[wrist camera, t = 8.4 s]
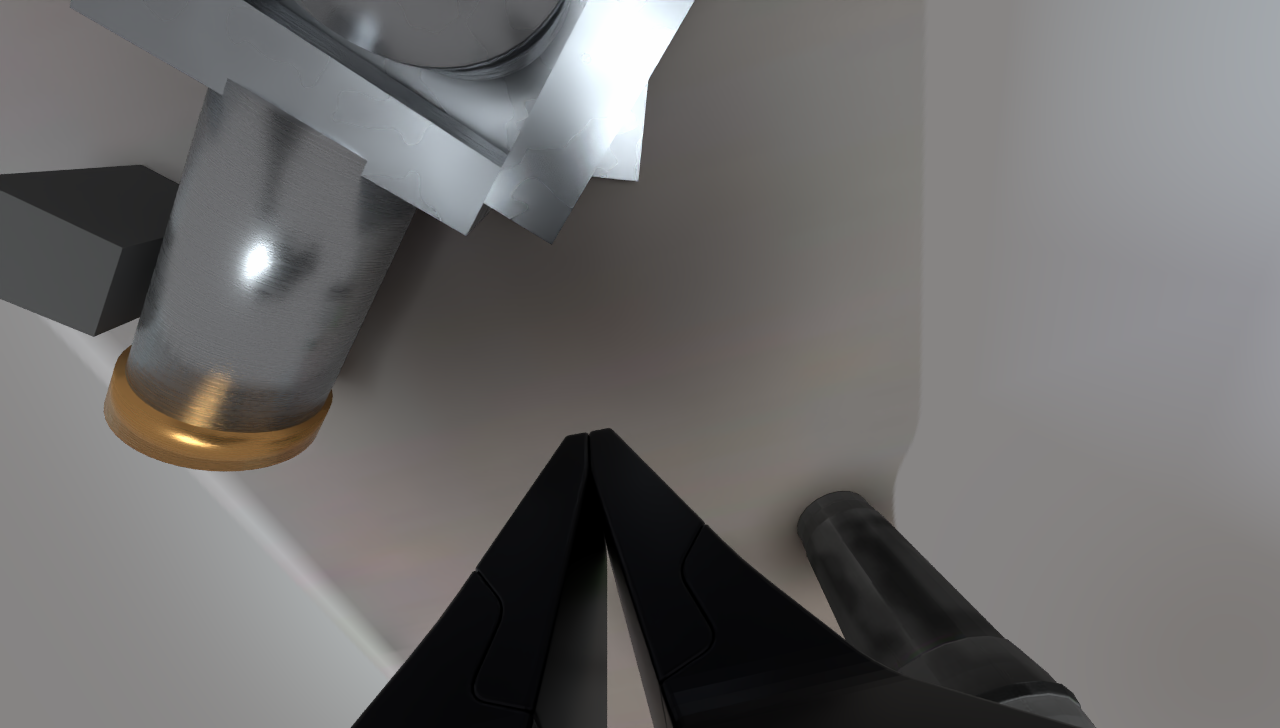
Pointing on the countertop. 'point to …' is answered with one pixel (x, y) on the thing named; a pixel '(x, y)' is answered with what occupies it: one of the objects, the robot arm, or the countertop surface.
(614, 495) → the robot arm
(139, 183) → the block
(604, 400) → the countertop surface
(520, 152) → the flanged pipe fitting
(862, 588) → the beverage cup
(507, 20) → the duct stub
